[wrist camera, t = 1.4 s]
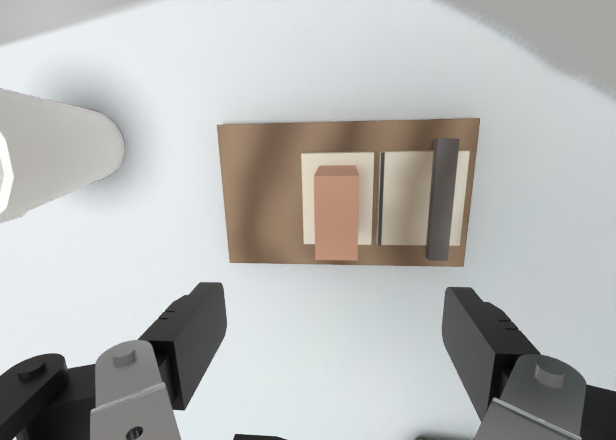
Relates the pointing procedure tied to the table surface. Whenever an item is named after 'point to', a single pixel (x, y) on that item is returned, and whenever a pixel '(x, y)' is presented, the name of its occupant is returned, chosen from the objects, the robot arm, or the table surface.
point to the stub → (337, 202)
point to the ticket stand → (386, 188)
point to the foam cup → (51, 151)
